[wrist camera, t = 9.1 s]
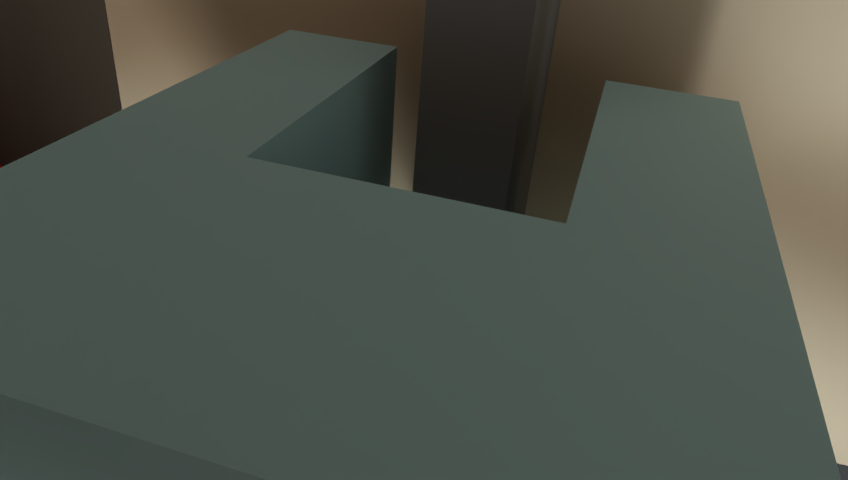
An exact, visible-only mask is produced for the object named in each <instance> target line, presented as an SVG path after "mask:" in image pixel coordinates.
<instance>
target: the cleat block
mask: <svg viewBox="0 0 848 480" xmlns="http://www.w3.org/2000/svg"><path fill="white" fill-rule="evenodd" d="M396 63H397V47H395V46H389V45H383V44H377V43H370V42H364V41H358V40H352V39H345V38H339V37H333V36H327V35H320V34H314V33H308V32H302V31H295V30H288V31H286V32H284V33H282V34H280V35H278V36H276V37H274V38H272V39H269V40H267V41H265V42H263V43H261V44H259V45H257V46H255V47H253V48H251V49H248V50H246V51H244V52H242V53H240V54H238V55H236V56H234V57H232V58H230V59H228V60H225V61H223V62H221V63H219V64H217V65H215V66H213V67H211V68H209V69H207V70H205V71H202V72H200V73H198V74H196V75H194V76H192V77H190V78H188V79H186V80H184V81H181V82H179V83H177V84H175V85H173V86H171V87H169V88H167V89H165V90H163V91H161V92H158V93H156V94H154V95H152V96H150V97H148V98H146V99H144V100H142V101H140V102H137V103H135V104H133V105H131V106H129V107H127V108H125V109H123V110H121V111H119V112H117V113H114V114H112V115H110V116H108V117H106V118H104V119H102V120H100V121H98V122H96V123H93V124H91V125H89V126H87V127H85V128H83V129H81V130H79V131H77V132H75V133H73V134H70V135H68V136H66V137H64V138H62V139H60V140H58V141H56V142H54V143H52V144H50V145H47V146H45V147H43V148H41V149H39V150H37V151H35V152H33V153H31V154H29V155H26V156H24V157H22V158H20V159H18V160H16V161H14V162H12V163H10V164H8V165H6V166H3V167H1V168H0V480H841V478H840V474H839V470H838V466H837V463H836V459H835V455H834V452H833V448H832V444H831V440H830V437H829V433H828V429H827V426H826V422H825V418H824V414H823V411H822V407H821V403H820V400H819V396H818V392H817V388H816V385H815V381H814V377H813V374H812V370H811V366H810V362H809V359H808V355H807V351H806V348H805V344H804V340H803V336H802V333H801V329H800V325H799V322H798V318H797V314H796V311H795V307H794V303H793V299H792V296H791V292H790V288H789V285H788V281H787V277H786V273H785V270H784V266H783V262H782V259H781V255H780V251H779V247H778V244H777V240H776V236H775V233H774V229H773V225H772V221H771V218H770V214H769V210H768V207H767V203H766V199H765V195H764V192H763V188H762V184H761V181H760V177H759V173H758V169H757V166H756V162H755V158H754V155H753V151H752V147H751V143H750V140H749V136H748V132H747V129H746V125H745V121H744V117H743V114H742V110H741V106H740V103H739V101H733V100H727V99H721V98H714V97H708V96H702V95H696V94H689V93H683V92H677V91H671V90H664V89H658V88H652V87H646V86H639V85H633V84H627V83H621V82H614V81H608V80H606V82H605V86H604V89H603V93H602V96H601V100H600V104H599V107H598V111H597V114H596V118H595V122H594V125H593V129H592V132H591V136H590V140H589V143H588V147H587V150H586V154H585V157H584V161H583V165H582V168H581V172H580V175H579V179H578V183H577V186H576V190H575V193H574V197H573V200H572V204H571V208H570V211H569V215H568V218H567V222H566V223H561V222H556V221H552V220H547V219H542V218H537V217H532V216H528V215H523V214H518V213H513V212H508V211H504V210H499V209H494V208H489V207H484V206H480V205H475V204H470V203H465V202H460V201H456V200H451V199H446V198H441V197H436V196H432V195H427V194H422V193H417V192H412V191H408V190H403V189H398V188H393V187H390V178H391V159H392V140H393V121H394V102H395V82H396Z"/></svg>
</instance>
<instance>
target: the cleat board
mask: <svg viewBox="0 0 848 480" xmlns="http://www.w3.org/2000/svg"><path fill="white" fill-rule="evenodd" d="M105 4H106V11H107V17H108V23H109V30H110V36H111V42H112V49H113V55H114V61H115V67H116V74H117V80H118V86H119V93H120V99H121V105H122V110H123V109H125V108H127V107H129V106H131V105H133V104H135V103H137V102H140V101H142V100H144V99H146V98H148V97H150V96H152V95H154V94H156V93H158V92H161V91H163V90H165V89H167V88H169V87H171V86H173V85H175V84H177V83H179V82H181V81H184V80H186V79H188V78H190V77H192V76H194V75H196V74H198V73H200V72H202V71H205V70H207V69H209V68H211V67H213V66H215V65H217V64H219V63H221V62H223V61H225V60H228V59H230V58H232V57H234V56H236V55H238V54H240V53H242V52H244V51H246V50H248V49H251V48H253V47H255V46H257V45H259V44H261V43H263V42H265V41H267V40H269V39H272V38H274V37H276V36H278V35H280V34H282V33H284V32H286V31H288V30H295V31H302V32H308V33H314V34H320V35H327V36H333V37H339V38H345V39H352V40H358V41H364V42H370V43H377V44H383V45H389V46H395V47H397V63H396V82H395V102H394V121H393V140H392V159H391V178H390V187H393V188H398V189H403V190H408V191H412V192H417V193H422V194H427V195H432V196H436V197H441V198H446V199H451V200H456V201H460V202H465V203H470V204H475V205H480V206H484V207H489V208H494V209H499V210H504V211H508V212H513V213H518V214H523V215H528V216H532V217H537V218H542V219H547V220H552V221H556V222H561V223H566V222H567V218H568V215H569V211H570V208H571V204H572V200H573V197H574V193H575V190H576V186H577V183H578V179H579V175H580V172H581V168H582V165H583V161H584V157H585V154H586V150H587V147H588V143H589V140H590V136H591V132H592V129H593V125H594V122H595V118H596V114H597V111H598V107H599V104H600V100H601V96H602V93H603V89H604V86H605V82H606V80H608V81H614V82H621V83H627V84H633V85H639V86H646V87H652V88H658V89H664V90H671V91H677V92H683V93H689V94H696V95H702V96H708V97H714V98H721V99H727V100H733V101H739V103H740V106H741V110H742V114H743V117H744V121H745V125H746V129H747V132H748V136H749V140H750V143H751V147H752V151H753V155H754V158H755V162H756V166H757V169H758V173H759V177H760V181H761V184H762V188H763V192H764V195H765V199H766V203H767V207H768V210H769V214H770V218H771V221H772V225H773V229H774V233H775V236H776V240H777V244H778V247H779V251H780V255H781V259H782V262H783V266H784V270H785V273H786V277H787V281H788V285H789V288H790V292H791V296H792V299H793V303H794V307H795V311H796V314H797V318H798V322H799V325H800V329H801V333H802V336H803V340H804V344H805V348H806V351H807V355H808V359H809V362H810V366H811V370H812V374H813V377H814V381H815V385H816V388H817V392H818V396H819V400H820V403H821V407H822V411H823V414H824V418H825V422H826V426H827V429H828V433H829V437H830V440H831V444H832V448H833V452H834V455H835V459H836V463H839V464H843V465H847V466H848V0H105Z"/></svg>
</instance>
